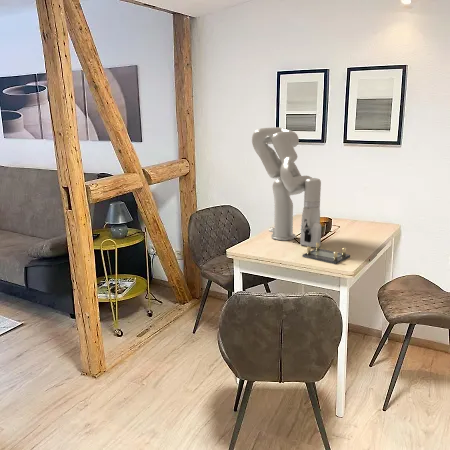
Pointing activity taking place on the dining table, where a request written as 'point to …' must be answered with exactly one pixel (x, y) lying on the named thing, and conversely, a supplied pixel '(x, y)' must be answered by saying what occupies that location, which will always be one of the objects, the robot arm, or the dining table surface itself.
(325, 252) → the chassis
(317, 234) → the photo printer
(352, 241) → the dining table surface
